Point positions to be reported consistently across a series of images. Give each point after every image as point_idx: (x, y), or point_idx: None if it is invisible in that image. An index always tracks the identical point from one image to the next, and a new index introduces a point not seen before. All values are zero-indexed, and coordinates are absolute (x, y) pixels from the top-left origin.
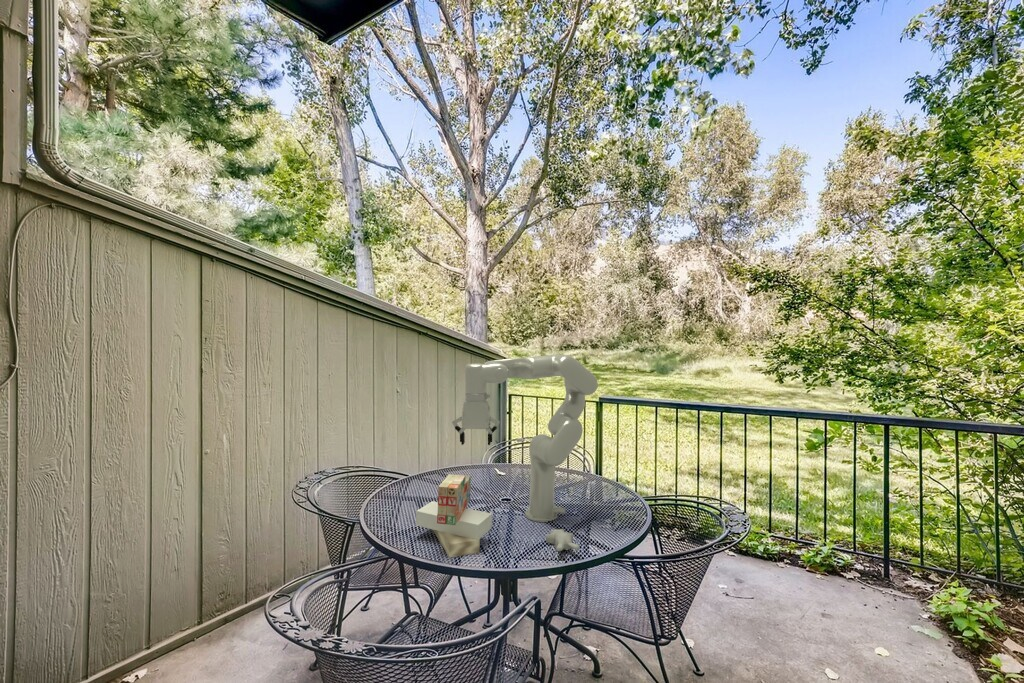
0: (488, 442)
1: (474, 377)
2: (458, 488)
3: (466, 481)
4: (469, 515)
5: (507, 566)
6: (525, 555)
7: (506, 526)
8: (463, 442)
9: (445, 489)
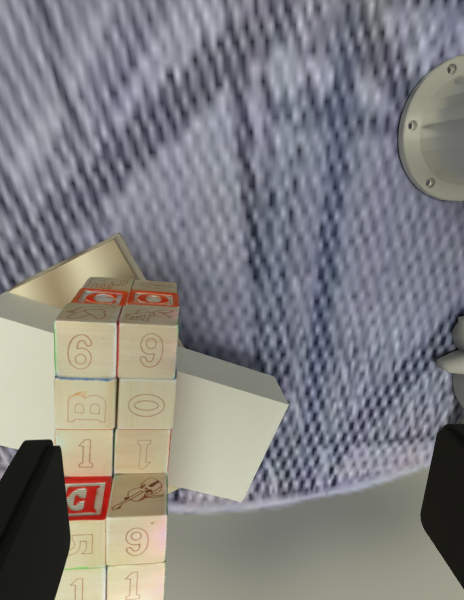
0: (447, 556)
1: None
2: None
3: (167, 432)
4: (197, 436)
5: (311, 485)
6: (363, 428)
7: (316, 247)
8: (62, 565)
9: None
